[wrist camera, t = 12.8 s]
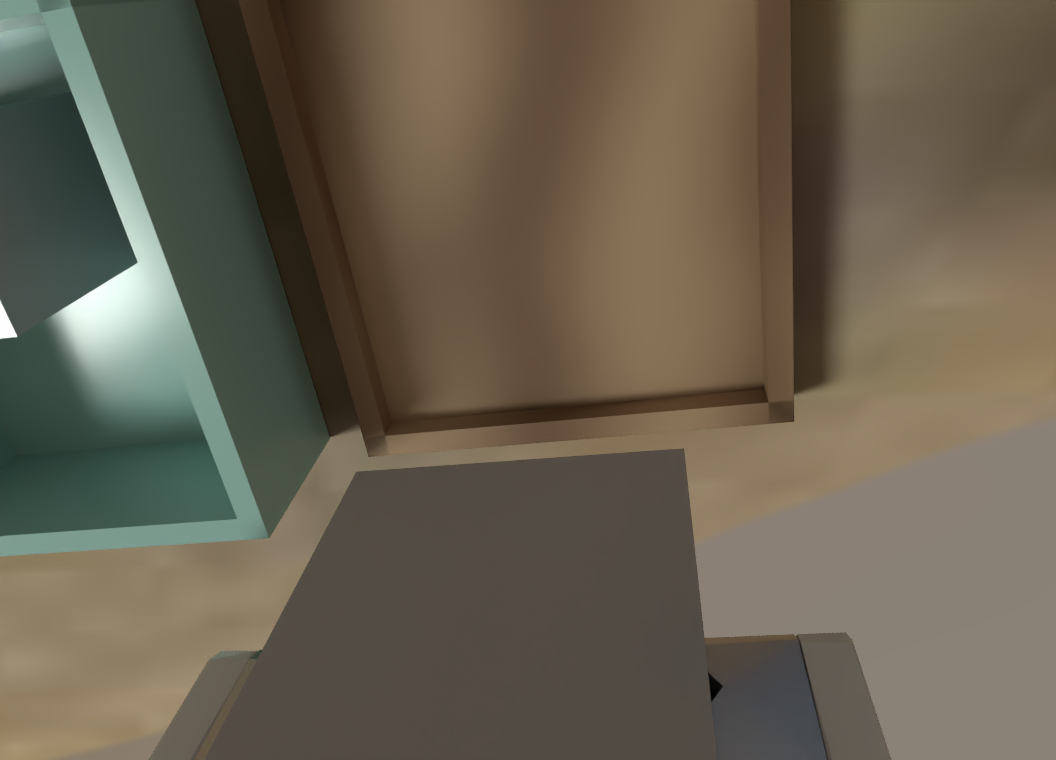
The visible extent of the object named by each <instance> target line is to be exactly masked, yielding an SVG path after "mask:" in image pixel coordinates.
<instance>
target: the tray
mask: <svg viewBox="0 0 1056 760" xmlns="http://www.w3.org/2000/svg"><path fill="white" fill-rule="evenodd" d="M238 2H239V6H240V9H241V13H242V16H243V20H244V23H245V27H246V30H247V34H248V37H249V41H250V44H251V48H252V51H253V55H254V58H255V62H256V65H257V69H258V72H259V76H260V79H261V83H262V86H263V90H264V93H265V97H266V100H267V103H268V107H269V110H270V114H271V117H272V121H273V124H274V128H275V131H276V135H277V138H278V142H279V145H280V149H281V152H282V156H283V159H284V163H285V166H286V170H287V173H288V177H289V180H290V184H291V187H292V191H293V194H294V198H295V201H296V205H297V208H298V212H299V215H300V219H301V222H302V226H303V229H304V233H305V236H306V240H307V243H308V247H309V250H310V254H311V257H312V261H313V264H314V268H315V271H316V275H317V278H318V282H319V285H320V289H321V292H322V296H323V299H324V303H325V306H326V309H327V313H328V316H329V320H330V323H331V327H332V330H333V334H334V337H335V341H336V344H337V348H338V351H339V355H340V358H341V362H342V365H343V369H344V372H345V376H346V379H347V383H348V386H349V390H350V393H351V397H352V400H353V404H354V407H355V411H356V414H357V418H358V421H359V425H360V428H361V432H362V435H363V439H364V442H365V446H366V449H367V453H368V456H369V457H373V456H385V455H397V454H409V453H421V452H433V451H445V450H457V449H469V448H481V447H493V446H505V445H518V444H530V443H542V442H554V441H566V440H578V439H590V438H602V437H614V436H626V435H638V434H650V433H662V432H675V431H687V430H699V429H711V428H723V427H735V426H747V425H759V424H771V423H783V422H794V355H793V237H792V120H791V3H790V0H238Z"/></svg>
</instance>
